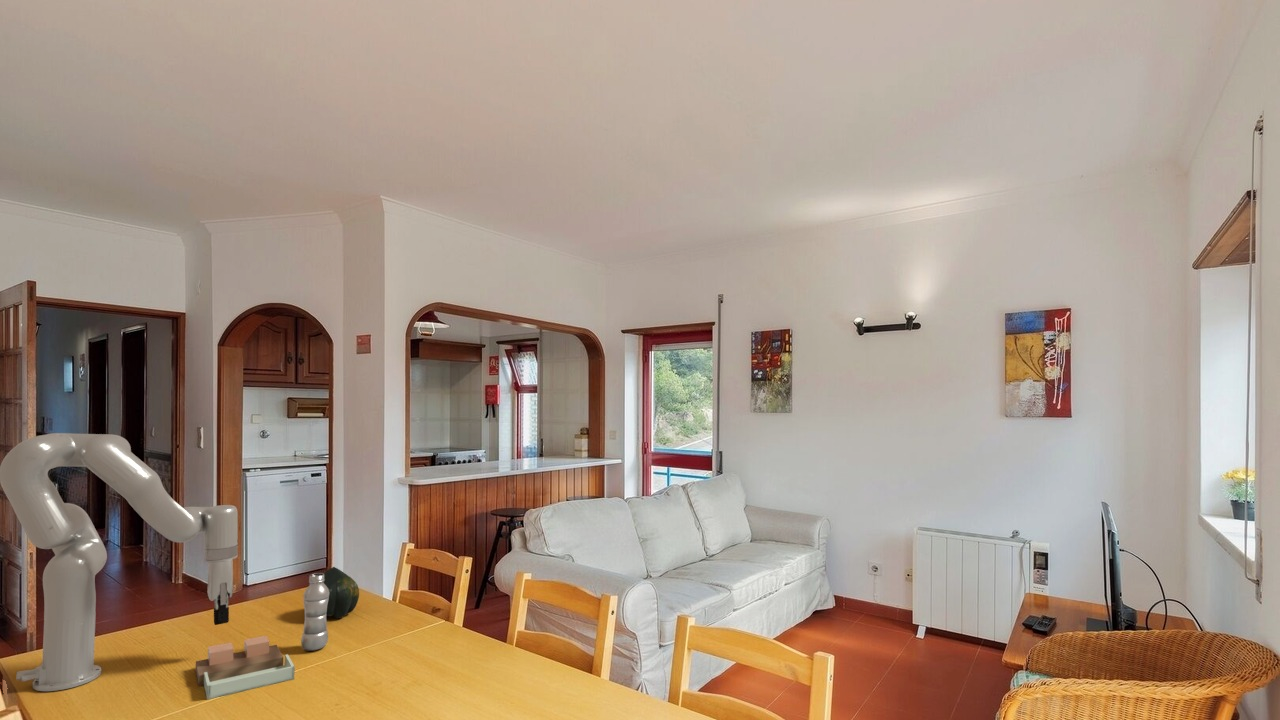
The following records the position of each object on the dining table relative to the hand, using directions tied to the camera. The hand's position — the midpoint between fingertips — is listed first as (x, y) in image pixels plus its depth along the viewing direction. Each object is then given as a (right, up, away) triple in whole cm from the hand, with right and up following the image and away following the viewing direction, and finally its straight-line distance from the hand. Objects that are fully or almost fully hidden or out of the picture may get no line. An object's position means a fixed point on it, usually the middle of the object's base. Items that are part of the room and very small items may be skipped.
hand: (221, 622), depth 174 cm
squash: (+14, -11, +32) cm, 37 cm away
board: (+9, -9, -7) cm, 15 cm away
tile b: (+11, -7, -2) cm, 13 cm away
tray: (+16, -9, -14) cm, 23 cm away
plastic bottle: (+21, -10, +6) cm, 24 cm away
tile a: (+4, -7, -7) cm, 11 cm away
